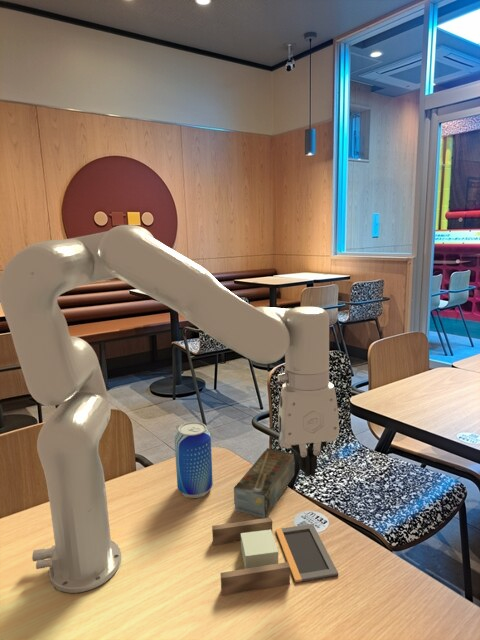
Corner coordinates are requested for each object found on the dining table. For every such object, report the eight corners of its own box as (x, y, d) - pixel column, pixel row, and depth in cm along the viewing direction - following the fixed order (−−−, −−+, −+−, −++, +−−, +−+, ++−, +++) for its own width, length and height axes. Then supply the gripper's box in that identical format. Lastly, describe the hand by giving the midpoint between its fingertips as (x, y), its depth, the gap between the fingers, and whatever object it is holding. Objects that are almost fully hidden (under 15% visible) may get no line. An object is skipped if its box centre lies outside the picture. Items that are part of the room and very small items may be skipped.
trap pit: (295, 583, 77) (295, 580, 76) (275, 531, 89) (275, 529, 89) (338, 575, 78) (338, 572, 78) (312, 526, 91) (312, 523, 91)
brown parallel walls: (222, 595, 74) (221, 578, 74) (212, 541, 87) (212, 525, 86) (289, 584, 76) (289, 567, 76) (270, 532, 89) (270, 517, 89)
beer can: (183, 504, 99) (179, 439, 96) (173, 484, 107) (169, 424, 103) (218, 494, 102) (215, 431, 99) (205, 476, 110) (203, 417, 106)
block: (246, 575, 79) (245, 556, 78) (241, 551, 85) (240, 533, 84) (278, 570, 80) (278, 551, 79) (271, 547, 86) (271, 529, 85)
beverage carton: (232, 511, 97) (231, 484, 95) (266, 468, 113) (266, 445, 112) (265, 521, 93) (264, 493, 92) (295, 475, 110) (295, 451, 108)
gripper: (271, 390, 71) (273, 490, 75) (356, 380, 74) (354, 478, 78) (260, 375, 78) (263, 467, 82) (339, 367, 81) (338, 456, 85)
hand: (307, 472), depth 80 cm, fingers closed
